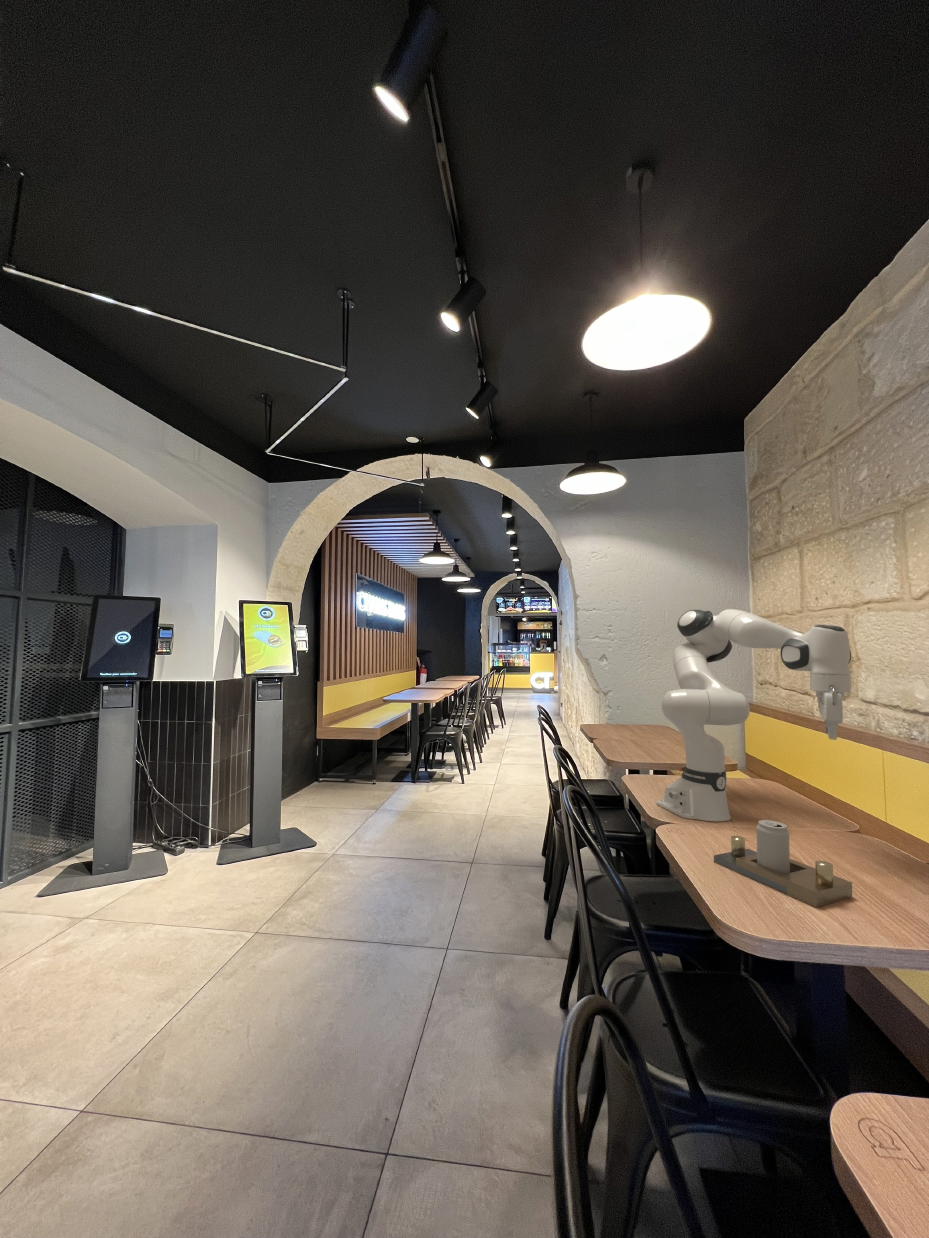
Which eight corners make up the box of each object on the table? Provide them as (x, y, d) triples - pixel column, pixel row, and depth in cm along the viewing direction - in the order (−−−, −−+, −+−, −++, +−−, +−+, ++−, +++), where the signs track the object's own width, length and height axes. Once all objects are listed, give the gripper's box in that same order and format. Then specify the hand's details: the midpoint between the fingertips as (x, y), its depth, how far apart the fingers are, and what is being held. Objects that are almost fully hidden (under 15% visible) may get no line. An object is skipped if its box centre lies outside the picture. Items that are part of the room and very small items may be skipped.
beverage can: (782, 886, 112) (781, 830, 113) (751, 875, 117) (751, 821, 118) (795, 879, 116) (794, 825, 116) (765, 869, 121) (764, 817, 122)
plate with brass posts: (713, 861, 125) (713, 832, 125) (747, 854, 130) (747, 826, 130) (816, 907, 103) (816, 871, 103) (852, 896, 108) (851, 862, 108)
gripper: (849, 687, 128) (850, 743, 127) (840, 683, 145) (841, 733, 145) (818, 686, 131) (819, 741, 130) (813, 682, 149) (814, 730, 148)
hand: (830, 736), depth 138 cm, fingers open, 8 cm apart
